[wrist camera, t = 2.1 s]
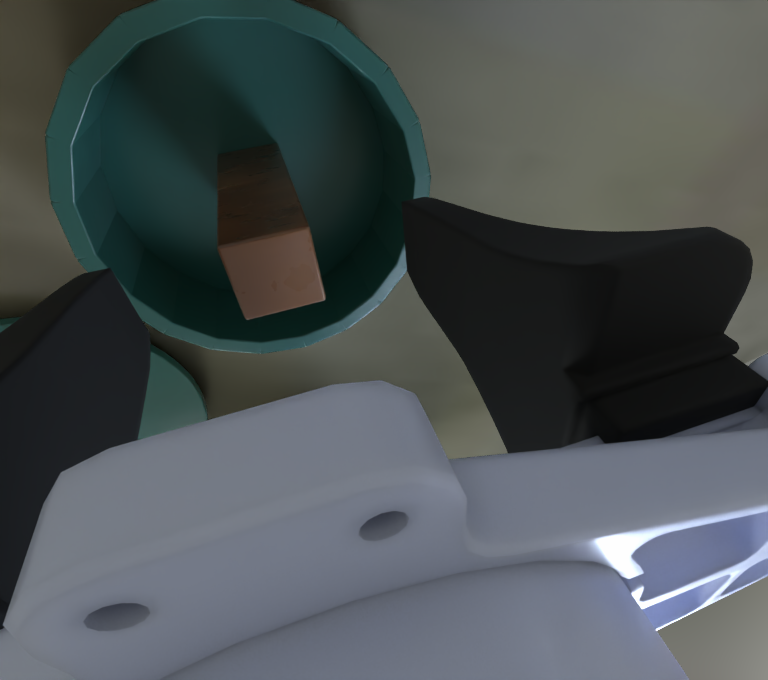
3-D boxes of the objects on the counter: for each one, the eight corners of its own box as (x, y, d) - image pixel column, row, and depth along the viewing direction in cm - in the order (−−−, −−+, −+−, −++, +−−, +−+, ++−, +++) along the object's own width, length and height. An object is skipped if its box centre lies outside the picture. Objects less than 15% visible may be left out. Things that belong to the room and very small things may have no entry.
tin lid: (249, 434, 25) (254, 502, 22) (49, 519, 25) (23, 602, 22) (102, 262, 17) (74, 329, 14) (-198, 384, 17) (-303, 483, 13)
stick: (277, 142, 16) (309, 225, 10) (291, 199, 17) (326, 301, 12) (216, 153, 16) (215, 246, 10) (236, 211, 17) (245, 321, 11)
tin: (420, 242, 21) (454, 285, 18) (199, 333, 20) (196, 393, 17) (341, -70, 13) (377, -86, 10) (-10, 65, 13) (-78, 89, 10)
